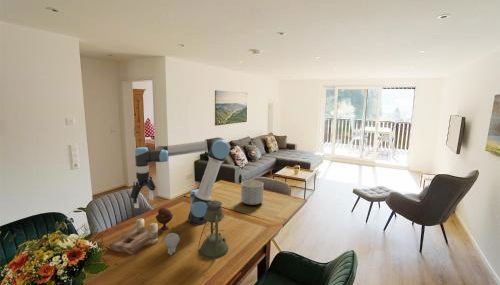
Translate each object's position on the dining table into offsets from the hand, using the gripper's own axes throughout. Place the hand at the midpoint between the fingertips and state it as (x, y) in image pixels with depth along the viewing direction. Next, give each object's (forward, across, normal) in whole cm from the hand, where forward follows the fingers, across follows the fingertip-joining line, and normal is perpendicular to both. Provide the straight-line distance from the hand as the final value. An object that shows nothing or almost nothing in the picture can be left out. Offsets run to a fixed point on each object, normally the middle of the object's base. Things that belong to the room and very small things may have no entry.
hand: (144, 203), depth 164 cm
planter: (+22, -73, +50) cm, 91 cm away
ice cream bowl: (+22, -10, +7) cm, 25 cm away
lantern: (+22, +1, +50) cm, 54 cm away
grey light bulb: (+22, +13, +29) cm, 38 cm away
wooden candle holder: (+21, +10, 0) cm, 23 cm away
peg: (+21, +6, +12) cm, 25 cm away
